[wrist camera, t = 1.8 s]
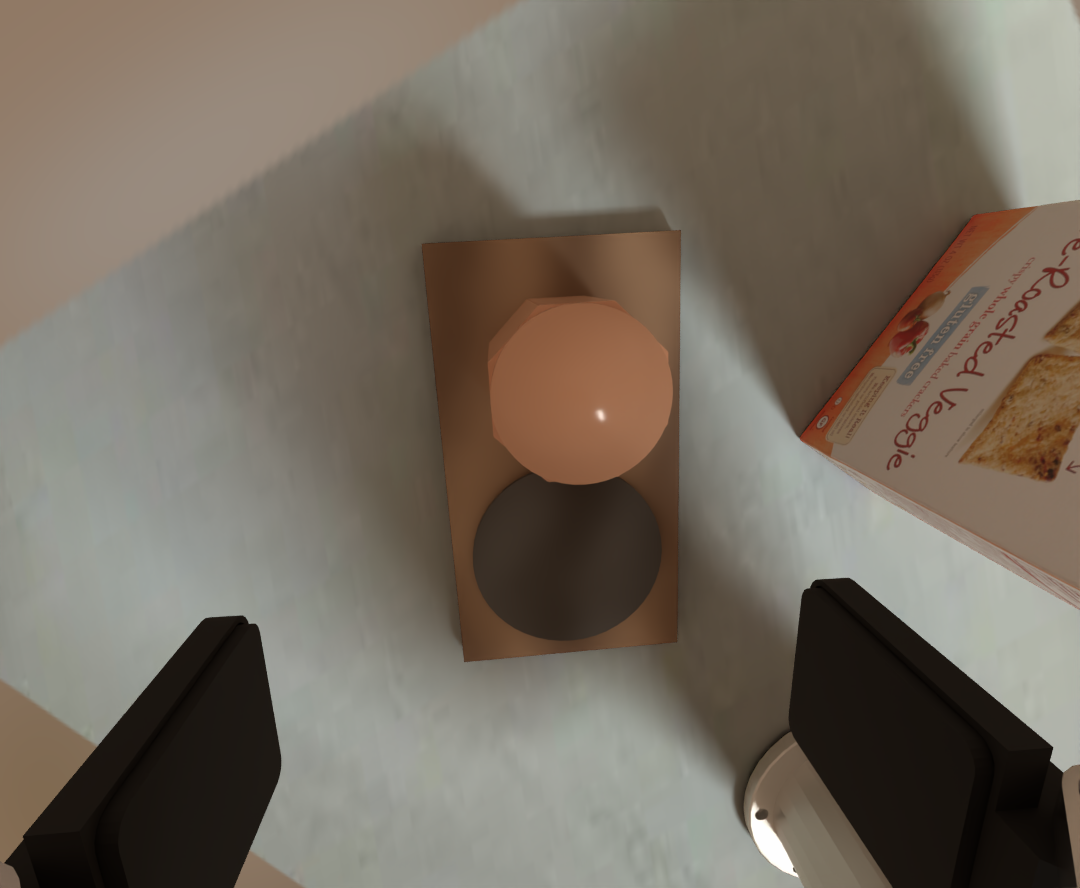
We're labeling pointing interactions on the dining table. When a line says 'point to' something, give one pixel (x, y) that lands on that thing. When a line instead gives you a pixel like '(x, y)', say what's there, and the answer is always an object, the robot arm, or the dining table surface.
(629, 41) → the dining table surface
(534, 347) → the orange cylinder peg
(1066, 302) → the cracker box
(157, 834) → the robot arm
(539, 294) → the board
